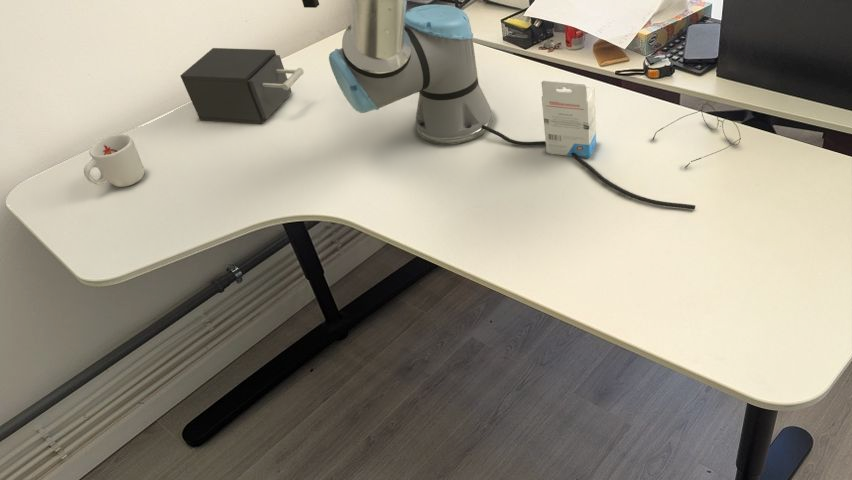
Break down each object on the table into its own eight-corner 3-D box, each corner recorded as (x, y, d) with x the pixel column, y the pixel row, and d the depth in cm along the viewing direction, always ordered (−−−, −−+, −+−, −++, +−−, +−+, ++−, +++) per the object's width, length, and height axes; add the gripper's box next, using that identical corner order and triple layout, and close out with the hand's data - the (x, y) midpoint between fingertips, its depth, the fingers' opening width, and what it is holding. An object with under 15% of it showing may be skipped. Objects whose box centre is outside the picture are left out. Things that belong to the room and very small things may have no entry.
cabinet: (289, 94, 162) (274, 49, 155) (261, 124, 154) (244, 78, 147) (230, 91, 167) (212, 47, 159) (199, 120, 158) (179, 75, 151)
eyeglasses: (688, 171, 126) (690, 146, 122) (648, 138, 134) (649, 114, 131) (742, 151, 128) (746, 126, 125) (700, 120, 137) (702, 96, 133)
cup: (109, 203, 137) (88, 168, 132) (88, 191, 141) (67, 157, 136) (157, 174, 143) (139, 139, 138) (136, 163, 147) (117, 129, 142)
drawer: (316, 93, 159) (305, 56, 153) (292, 120, 152) (279, 82, 146) (236, 89, 165) (221, 53, 159) (208, 115, 157) (192, 78, 151)
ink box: (597, 144, 135) (596, 71, 125) (589, 159, 131) (587, 85, 121) (553, 139, 137) (549, 67, 127) (545, 153, 134) (539, 80, 124)
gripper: (273, -135, 134) (309, -8, 150) (237, -113, 126) (279, 19, 142) (309, -136, 132) (342, -8, 148) (275, -114, 123) (313, 20, 140)
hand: (311, 5), depth 145 cm, fingers closed
